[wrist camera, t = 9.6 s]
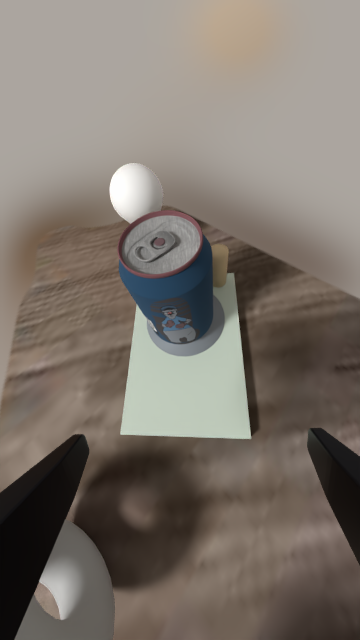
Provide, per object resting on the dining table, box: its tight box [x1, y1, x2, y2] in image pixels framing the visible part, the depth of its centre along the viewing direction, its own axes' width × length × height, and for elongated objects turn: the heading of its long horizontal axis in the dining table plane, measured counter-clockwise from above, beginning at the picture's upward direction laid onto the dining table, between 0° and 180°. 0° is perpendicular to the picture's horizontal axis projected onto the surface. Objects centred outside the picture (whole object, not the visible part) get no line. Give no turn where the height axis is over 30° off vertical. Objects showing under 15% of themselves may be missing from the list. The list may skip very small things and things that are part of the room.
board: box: [120, 244, 251, 439], centre depth 22 cm, size 18×12×6 cm, turn 179°
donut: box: [15, 519, 115, 640], centre depth 14 cm, size 10×3×10 cm, turn 52°
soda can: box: [118, 210, 213, 344], centre depth 20 cm, size 7×7×12 cm
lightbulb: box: [110, 163, 163, 223], centre depth 28 cm, size 6×6×11 cm
